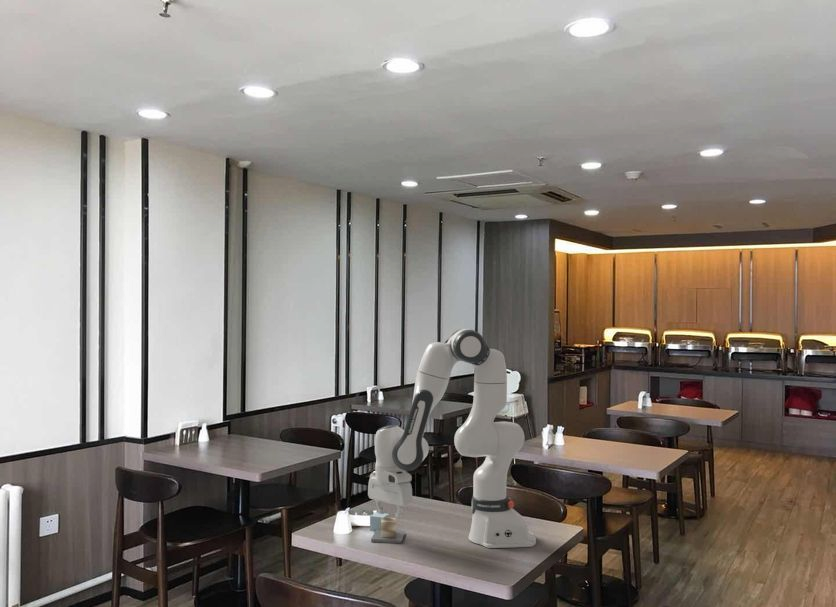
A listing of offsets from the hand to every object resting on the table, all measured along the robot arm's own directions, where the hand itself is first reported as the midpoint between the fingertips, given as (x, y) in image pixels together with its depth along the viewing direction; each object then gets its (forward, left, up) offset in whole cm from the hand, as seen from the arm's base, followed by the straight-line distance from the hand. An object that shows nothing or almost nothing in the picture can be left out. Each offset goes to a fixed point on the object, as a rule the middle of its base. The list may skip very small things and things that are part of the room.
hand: (389, 515), depth 227 cm
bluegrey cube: (+5, -10, -8) cm, 14 cm away
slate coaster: (+1, -1, -8) cm, 8 cm away
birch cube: (+1, -1, -7) cm, 7 cm away
